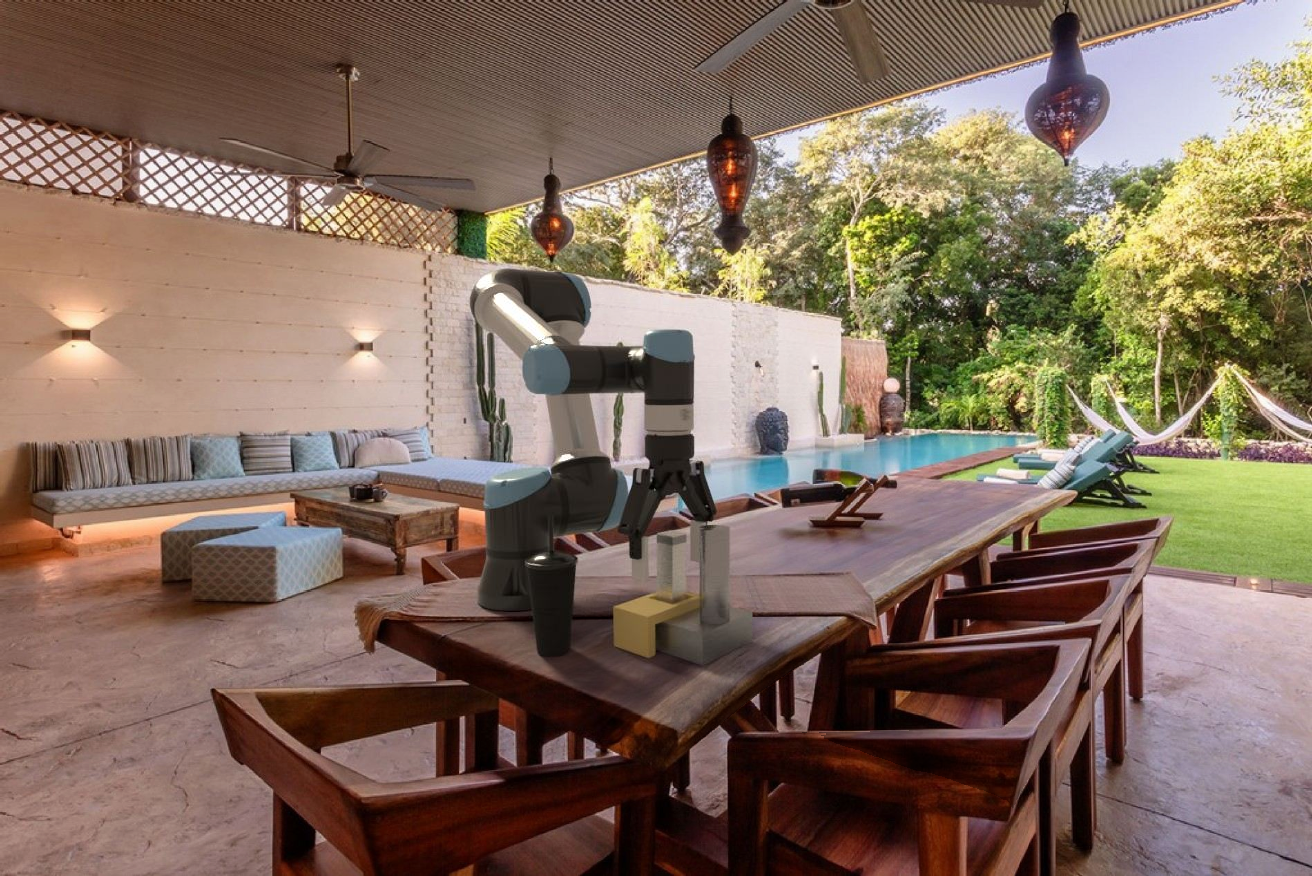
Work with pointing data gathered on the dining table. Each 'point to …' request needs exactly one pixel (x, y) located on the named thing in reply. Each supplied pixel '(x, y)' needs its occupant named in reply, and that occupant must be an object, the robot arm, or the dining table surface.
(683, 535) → the pin
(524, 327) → the robot arm
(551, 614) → the drinking cup
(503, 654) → the dining table surface
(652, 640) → the bracket
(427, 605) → the dining table surface
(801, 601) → the dining table surface
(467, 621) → the dining table surface
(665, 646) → the gray post on base
